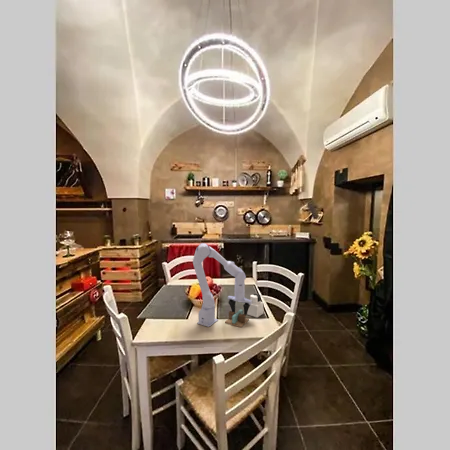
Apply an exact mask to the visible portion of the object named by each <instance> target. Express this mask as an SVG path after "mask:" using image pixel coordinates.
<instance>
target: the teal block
mask: <svg viewBox="0 0 450 450" xmlns="http://www.w3.org/2000/svg"><path fill="white" fill-rule="evenodd" d="M239 314H244V309H239V310H238V311H237V312H235V314H234V315H233V316H232V323H233V324H235V323H236V322H237V321H238V317H239Z"/></svg>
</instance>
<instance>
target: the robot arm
mask: <svg viewBox="0 0 450 450" xmlns="http://www.w3.org/2000/svg"><path fill="white" fill-rule="evenodd" d="M206 258H213V259H215V260H216V261H217V262H218V263H219V264H221V265H222V266H223V268H224V270H225V271H226V272H227V273H229V274H230V275H231V276H232V277H234V295H228V296H227V300H228V305H229V306H230V309H231V310H230V311H232V312H235V313H236V302H237V303H238V302H239V303H243V305H242V307H243V314H244V315H246V316H247V315H248V314H247V312H248V309H249V307H250V305H251V304H252V300H250V299H249V298H247V297H245V295H246V294H245V293H246V292H245V287H246V285H245V284H246V283H245V280H246V278H247V276H246V273H245V272H244V270H243V269H242V268H241V267H240V266H239V267H238V266H237V265H236V264H235V261H232V260H226V258H224V256H222V255H221V253H219V252H218V251H216V249H214V248H213V247H211V246H210V245H208V244H207V243H205V242H202V243H199V245H198V246H196V249H195V252H194V255H193V258H192V264H193V269H194V272H195V275H196V278H197V282H198V284H199V288H200V291H201V295H202V297H201V298H202V305H201V309H200V310H198V316H197V317H198V322H197V323H196V324H198V325H202V326H205V327H210V326H212V325H213V324H215V323H216V322H218V321H219V319H217V318H216V306H215V305H216V304H215V302H216V301H215V299H214V295H213V293H212V292H211V290H210V287H209V284H208V281H207V280H208V279H207V277H206V274H205V270H204V267H203V262H204V260H205V259H206Z"/></svg>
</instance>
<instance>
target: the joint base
mask: <svg viewBox="0 0 450 450" xmlns="http://www.w3.org/2000/svg"><path fill="white" fill-rule="evenodd" d="M235 313H236V311H235V312H232V310H229V311H228V319H227V320H225V321H224V324H226V325H227V324H228V325H231V326H233V327H236V328H237V327H238V328H242V327H244V326H245V324H247V322H249V320H250V318H247V315H244V313H243V314H239V317H238V321H237V322H236V323H235V324H233V323H232V316H233V315H234V314H235Z"/></svg>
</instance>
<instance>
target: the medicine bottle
mask: <svg viewBox="0 0 450 450" xmlns="http://www.w3.org/2000/svg"><path fill="white" fill-rule="evenodd" d="M249 296H250V299H249V300H252V304H251V305H250V307H249V309H248V312H247V315H248V316H251V317H254V318H260V317H261V316H262V315H264V301H261V297H262V296H261V295H260V294H259V293H252V294H250V295H249Z"/></svg>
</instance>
